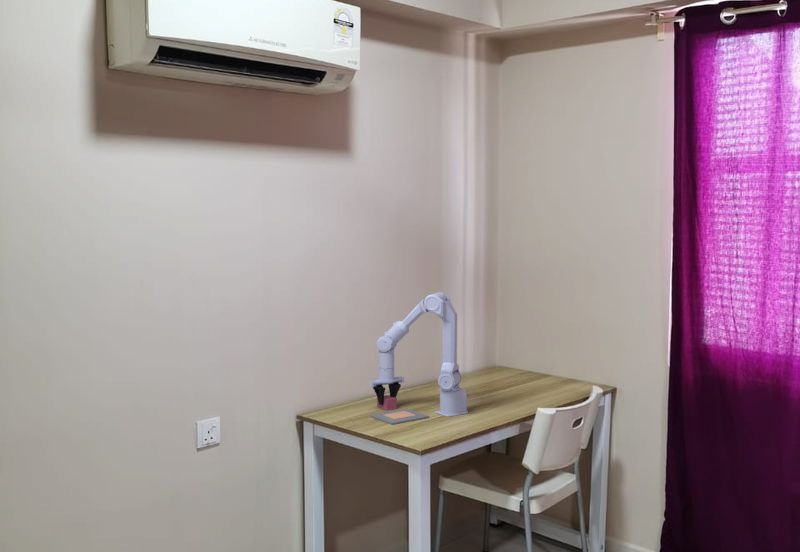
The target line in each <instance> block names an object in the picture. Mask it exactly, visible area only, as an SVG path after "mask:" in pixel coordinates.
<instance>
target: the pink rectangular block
mask: <svg viewBox="0 0 800 552" xmlns="http://www.w3.org/2000/svg"><path fill="white" fill-rule="evenodd" d="M376 408H378V409H381V410H384V411H394V410H398V398H397V397H396V398H395V397H391V396H390V395H388V394H384V404H383V405H380V404H379V402H378V398H377V397H376Z"/></svg>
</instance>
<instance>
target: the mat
mask: <svg viewBox="0 0 800 552" xmlns="http://www.w3.org/2000/svg"><path fill="white" fill-rule="evenodd" d="M369 417H370V418H372V419H375V420H378V421H381V422H383V423H386V424H388V425H393V426H394V425H398V424H404V423H408V422H409V423H410V422H415V421H420V420H426V419H430V415H427V414H423V413H421V412H419V411H415V410H413V409H410V408H402V409H394V410H389V411H385V412H380V413H374V414H370V415H369Z"/></svg>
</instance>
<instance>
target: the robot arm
mask: <svg viewBox="0 0 800 552" xmlns="http://www.w3.org/2000/svg"><path fill="white" fill-rule="evenodd" d="M428 312H430V313H432V314H434V315H436V316H438V318H440V320H442V364H441V368H440V374H439V376H438V378H437V385H438V387H439V410H436V411H434V413H435V414H438V415H442V416H444V417H447V418H448V417H455V416H460V415H465V414H469V411H468V409H467V406H468V403H467V400H468V396H467V392H466V390H465V389H464V388H463V387H460V383H461V381H462V375H461V372H460V365H459V364H458V357H457V356H458V313H457V312H456V309H455V308H454V305H453V304H452V302H451V298H450V297H449V296H448V295H446V293H444V292H441V291H438V292H435V293H433V294H432V293H431V294H429V295H427V296H426V297H425V298H423V299H422V300H421V301H419V303H417V305H416V306H415V307H414V308H413V309H412V310H411V311H410V312H409V314H408V315H406V317H405V318H404V319H403V320H396V321H394V322H393V323H392V326H391V327H390V328H389V329H388V330H387V331H384V332H383V333H384V335H383V336H379V337H378V339H377V340H376V349H377V350H378V379H374V380H369V381H368V387H370V388H373V391H374V392H375V394H376V399H377V398H378V402H379V404H380V405H383V404H384V395H385V390H386V387H385V386H386V385H388V391H389V396H391V397H395V398H397V395H398V393H399V391H400V389H401V386H402V385H401V383H402V384H403V383H405V377H404V376H395V348H396V347H397V344H398V343H399V342H401V341H402V340H403V338H404V337H406V335H407V334H409V331H410V327H411V326H412V325H413V324H414V323H415V322H416V321H417V320H418V319H419V318H421V316H422V315H424V314H426V313H428Z"/></svg>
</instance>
